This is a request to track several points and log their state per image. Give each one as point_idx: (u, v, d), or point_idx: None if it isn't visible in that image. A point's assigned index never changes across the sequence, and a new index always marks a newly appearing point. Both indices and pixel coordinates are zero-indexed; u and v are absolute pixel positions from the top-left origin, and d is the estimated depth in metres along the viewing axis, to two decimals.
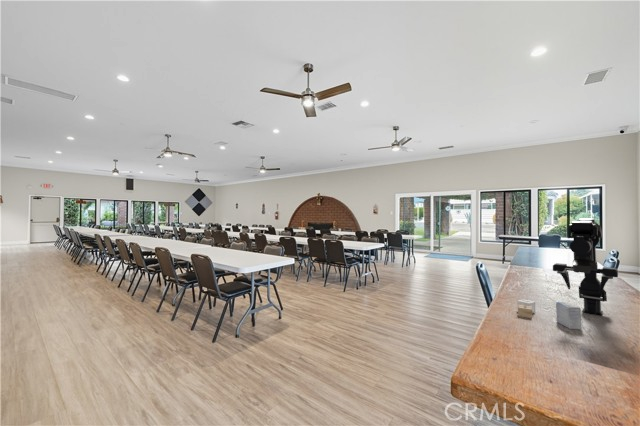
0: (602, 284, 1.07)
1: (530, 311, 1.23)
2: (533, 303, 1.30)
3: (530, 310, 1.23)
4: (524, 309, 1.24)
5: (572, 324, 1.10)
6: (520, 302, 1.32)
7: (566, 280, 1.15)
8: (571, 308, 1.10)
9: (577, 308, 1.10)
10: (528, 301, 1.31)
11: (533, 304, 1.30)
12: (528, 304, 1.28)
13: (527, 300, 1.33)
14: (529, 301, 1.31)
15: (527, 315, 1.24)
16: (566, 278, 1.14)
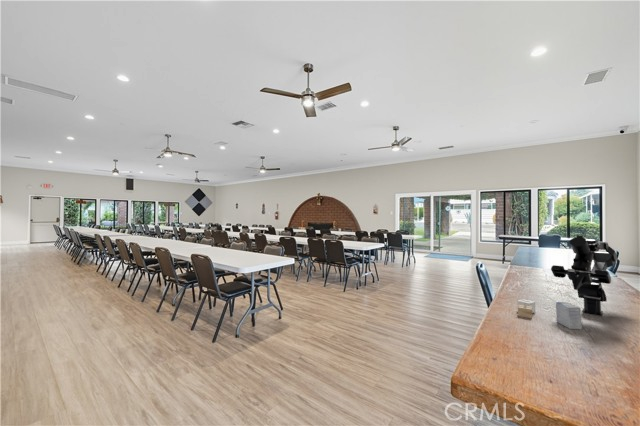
0: None
1: (530, 311, 1.23)
2: (533, 303, 1.30)
3: (530, 310, 1.23)
4: (524, 309, 1.24)
5: (572, 324, 1.10)
6: (520, 302, 1.32)
7: None
8: (571, 308, 1.10)
9: (577, 308, 1.10)
10: (528, 301, 1.31)
11: (533, 304, 1.30)
12: (528, 304, 1.28)
13: (527, 300, 1.33)
14: (529, 301, 1.31)
15: (527, 315, 1.24)
16: None
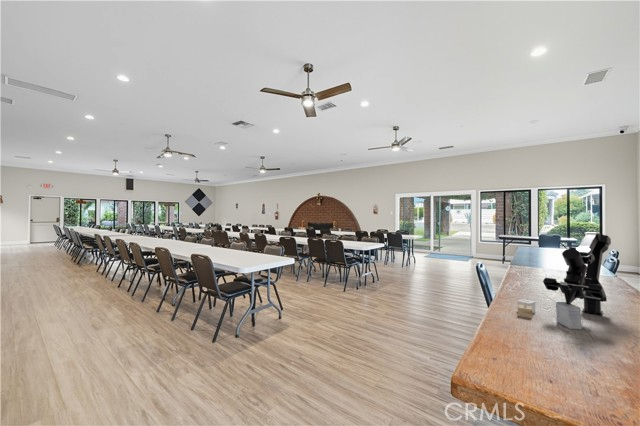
0: None
1: (530, 311, 1.23)
2: (533, 303, 1.30)
3: (530, 310, 1.23)
4: (524, 309, 1.24)
5: (572, 323, 1.10)
6: (520, 302, 1.32)
7: None
8: (571, 308, 1.10)
9: (577, 308, 1.10)
10: (528, 301, 1.31)
11: (533, 304, 1.30)
12: (528, 304, 1.28)
13: (527, 300, 1.33)
14: (529, 301, 1.31)
15: (527, 315, 1.24)
16: None
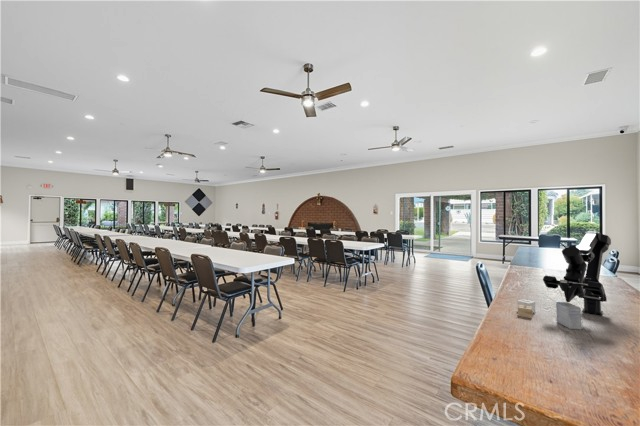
0: None
1: (530, 311, 1.23)
2: (533, 303, 1.30)
3: (530, 310, 1.23)
4: (524, 309, 1.24)
5: (572, 323, 1.10)
6: (520, 302, 1.32)
7: None
8: (571, 308, 1.10)
9: (577, 308, 1.10)
10: (528, 301, 1.31)
11: (533, 304, 1.30)
12: (528, 304, 1.28)
13: (527, 300, 1.33)
14: (529, 301, 1.31)
15: (527, 315, 1.24)
16: None
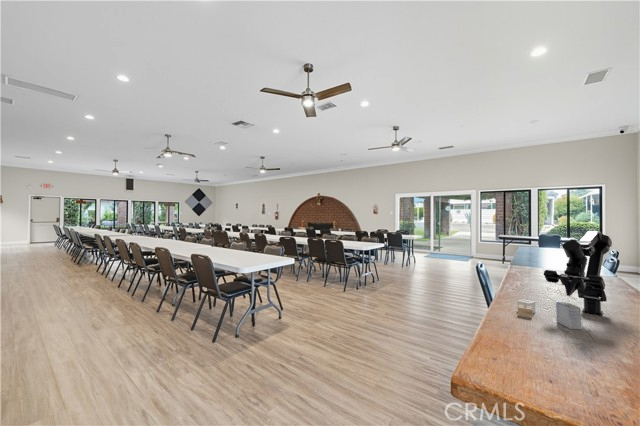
0: None
1: (530, 311, 1.23)
2: (533, 303, 1.30)
3: (530, 310, 1.23)
4: (524, 309, 1.24)
5: (572, 324, 1.10)
6: (520, 302, 1.32)
7: None
8: (571, 308, 1.10)
9: (577, 308, 1.10)
10: (528, 301, 1.31)
11: (533, 304, 1.30)
12: (528, 304, 1.28)
13: (527, 300, 1.33)
14: (529, 301, 1.31)
15: (527, 315, 1.24)
16: None
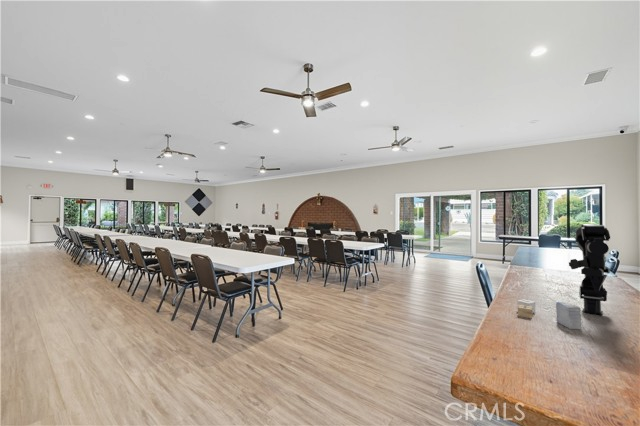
0: (591, 281, 1.19)
1: (530, 311, 1.23)
2: (533, 303, 1.30)
3: (530, 310, 1.23)
4: (524, 309, 1.24)
5: (572, 323, 1.10)
6: (520, 302, 1.32)
7: None
8: (571, 308, 1.10)
9: (577, 308, 1.10)
10: (528, 301, 1.31)
11: (533, 304, 1.30)
12: (528, 304, 1.28)
13: (527, 300, 1.33)
14: (529, 301, 1.31)
15: (527, 315, 1.24)
16: None
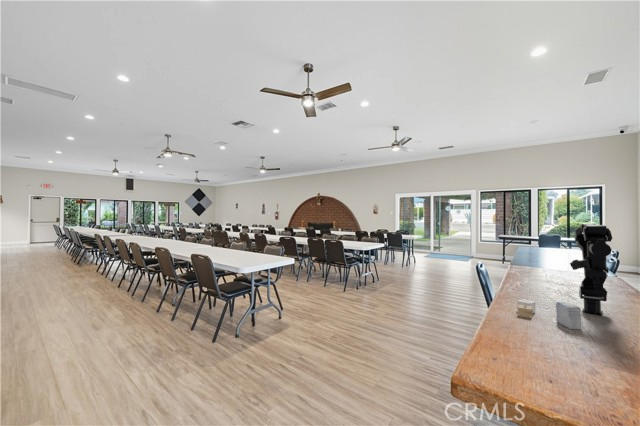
0: (593, 282, 1.18)
1: (530, 311, 1.23)
2: (533, 303, 1.30)
3: (530, 310, 1.23)
4: (524, 309, 1.24)
5: (572, 323, 1.10)
6: (520, 302, 1.32)
7: None
8: (571, 308, 1.10)
9: (577, 308, 1.10)
10: (528, 301, 1.31)
11: (533, 304, 1.30)
12: (528, 304, 1.28)
13: (527, 300, 1.33)
14: (529, 301, 1.31)
15: (527, 315, 1.24)
16: None
